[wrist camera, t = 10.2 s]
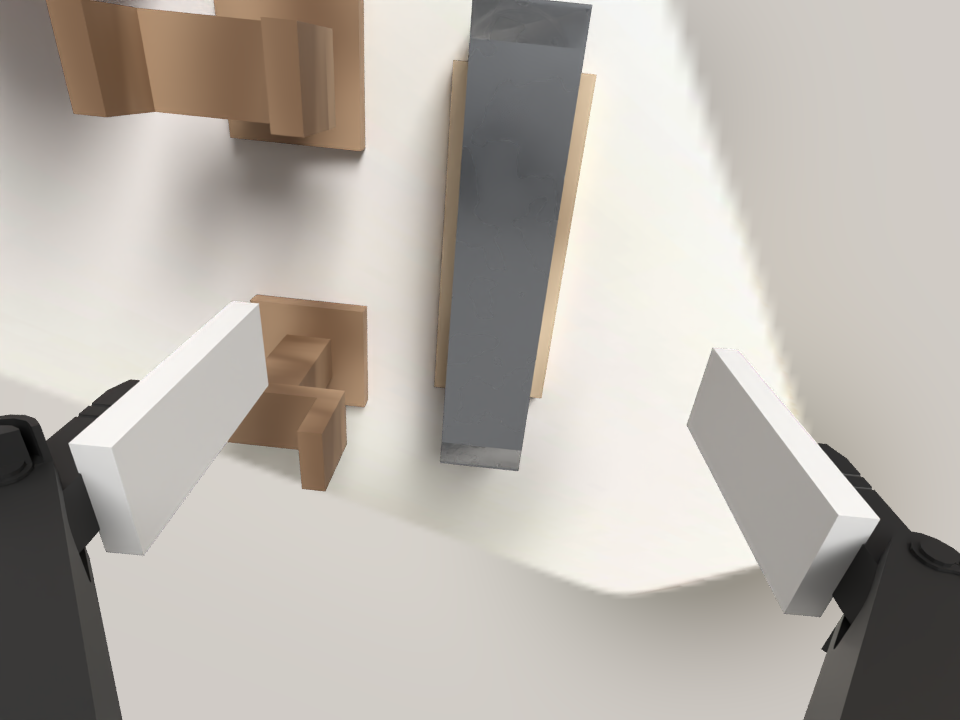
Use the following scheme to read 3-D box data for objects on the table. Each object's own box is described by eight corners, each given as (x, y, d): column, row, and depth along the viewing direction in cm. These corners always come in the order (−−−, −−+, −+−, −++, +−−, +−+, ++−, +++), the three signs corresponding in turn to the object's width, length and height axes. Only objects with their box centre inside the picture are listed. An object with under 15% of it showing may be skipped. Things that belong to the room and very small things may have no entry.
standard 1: (258, 388, 32) (168, 500, 24) (247, 293, 29) (139, 383, 21) (376, 400, 32) (327, 517, 24) (375, 307, 29) (320, 402, 21)
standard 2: (227, 134, 25) (86, 165, 17) (208, -20, 22) (28, -74, 14) (375, 150, 25) (306, 188, 17) (375, -3, 22) (292, -48, 14)
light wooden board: (436, 377, 31) (434, 386, 30) (455, 60, 23) (453, 60, 22) (540, 388, 31) (541, 398, 30) (593, 74, 23) (596, 74, 22)
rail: (448, 418, 31) (440, 462, 27) (479, 5, 22) (472, -8, 18) (517, 425, 31) (518, 471, 27) (579, 15, 21) (592, 4, 18)
